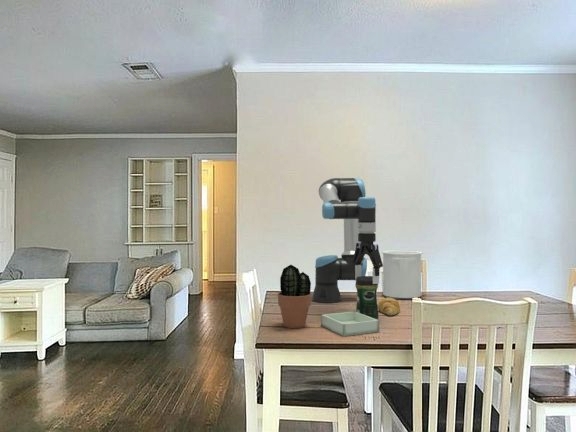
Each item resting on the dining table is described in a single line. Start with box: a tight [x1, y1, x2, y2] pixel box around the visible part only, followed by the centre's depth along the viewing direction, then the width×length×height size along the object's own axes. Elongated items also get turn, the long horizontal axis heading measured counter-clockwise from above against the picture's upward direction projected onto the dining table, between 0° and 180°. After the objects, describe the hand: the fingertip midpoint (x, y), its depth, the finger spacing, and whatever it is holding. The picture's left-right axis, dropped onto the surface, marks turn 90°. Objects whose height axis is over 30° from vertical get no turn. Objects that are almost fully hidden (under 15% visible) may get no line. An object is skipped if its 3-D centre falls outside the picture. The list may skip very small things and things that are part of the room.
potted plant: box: [277, 264, 312, 329], centre depth 192 cm, size 14×14×25 cm
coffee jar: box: [354, 275, 379, 320], centre depth 204 cm, size 10×8×19 cm
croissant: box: [377, 297, 401, 316], centre depth 219 cm, size 21×10×8 cm, turn 172°
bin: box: [320, 310, 380, 337], centre depth 187 cm, size 18×16×4 cm
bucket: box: [381, 249, 423, 301], centre depth 257 cm, size 26×22×24 cm
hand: (366, 281), depth 204 cm, fingers open, 13 cm apart
